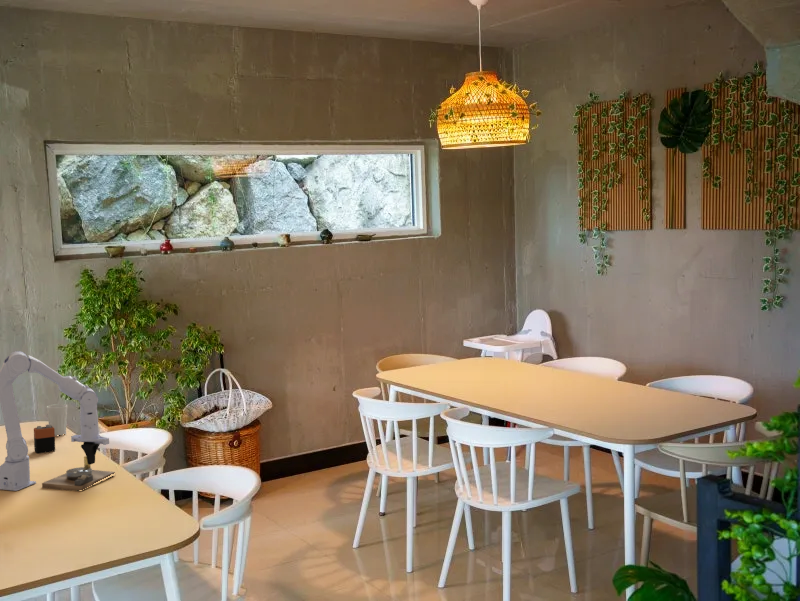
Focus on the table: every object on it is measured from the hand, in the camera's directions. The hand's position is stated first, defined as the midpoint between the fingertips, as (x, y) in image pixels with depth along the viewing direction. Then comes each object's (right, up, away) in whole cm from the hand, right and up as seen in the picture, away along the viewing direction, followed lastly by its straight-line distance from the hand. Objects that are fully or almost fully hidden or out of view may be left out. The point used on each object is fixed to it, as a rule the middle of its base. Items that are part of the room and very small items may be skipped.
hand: (91, 463), depth 293 cm
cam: (-2, -3, -4) cm, 5 cm away
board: (-2, -5, -6) cm, 8 cm away
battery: (-30, -2, +35) cm, 46 cm away
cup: (-36, 0, +61) cm, 71 cm away
